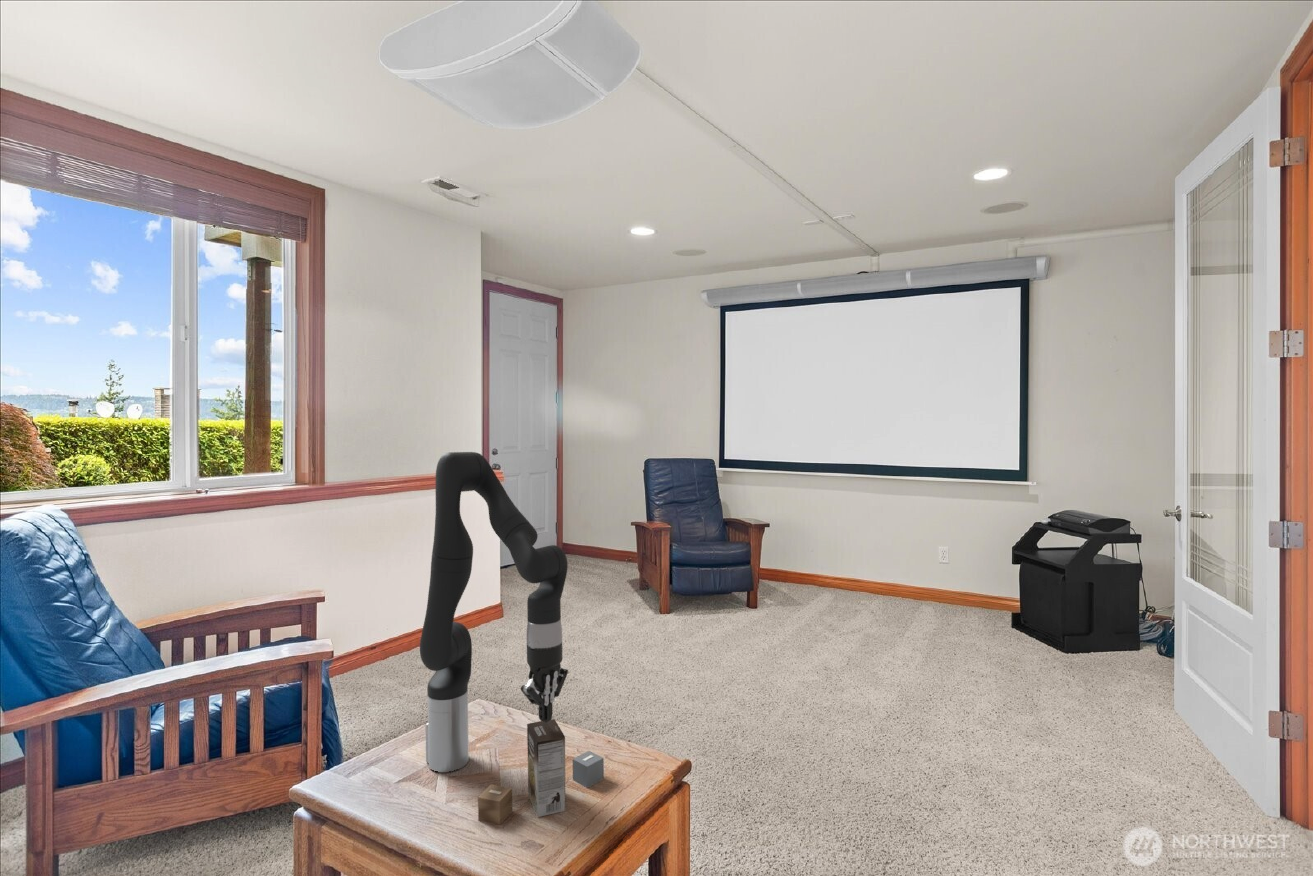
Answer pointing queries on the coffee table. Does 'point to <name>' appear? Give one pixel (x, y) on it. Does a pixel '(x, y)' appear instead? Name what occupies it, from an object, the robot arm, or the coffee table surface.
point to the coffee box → (546, 767)
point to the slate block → (588, 769)
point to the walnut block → (495, 804)
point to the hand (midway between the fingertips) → (545, 720)
